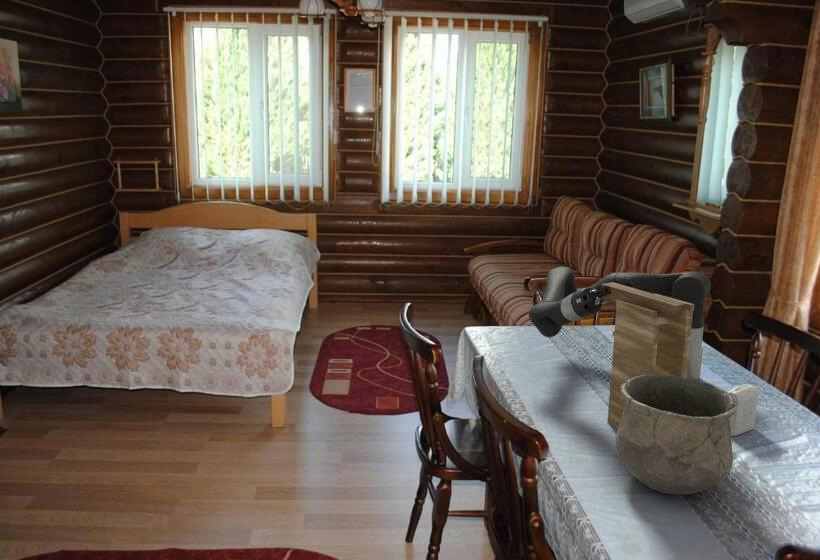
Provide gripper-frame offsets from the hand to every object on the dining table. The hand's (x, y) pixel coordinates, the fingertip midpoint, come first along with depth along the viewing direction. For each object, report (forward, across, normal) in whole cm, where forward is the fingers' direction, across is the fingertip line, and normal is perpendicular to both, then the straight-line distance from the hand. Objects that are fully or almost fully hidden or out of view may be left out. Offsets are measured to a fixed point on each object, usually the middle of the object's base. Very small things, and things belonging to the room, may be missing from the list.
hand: (621, 287), depth 178 cm
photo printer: (+1, -22, -42) cm, 48 cm away
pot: (+9, +15, -47) cm, 50 cm away
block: (+4, 0, -7) cm, 8 cm away
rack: (-11, -3, -35) cm, 37 cm away
